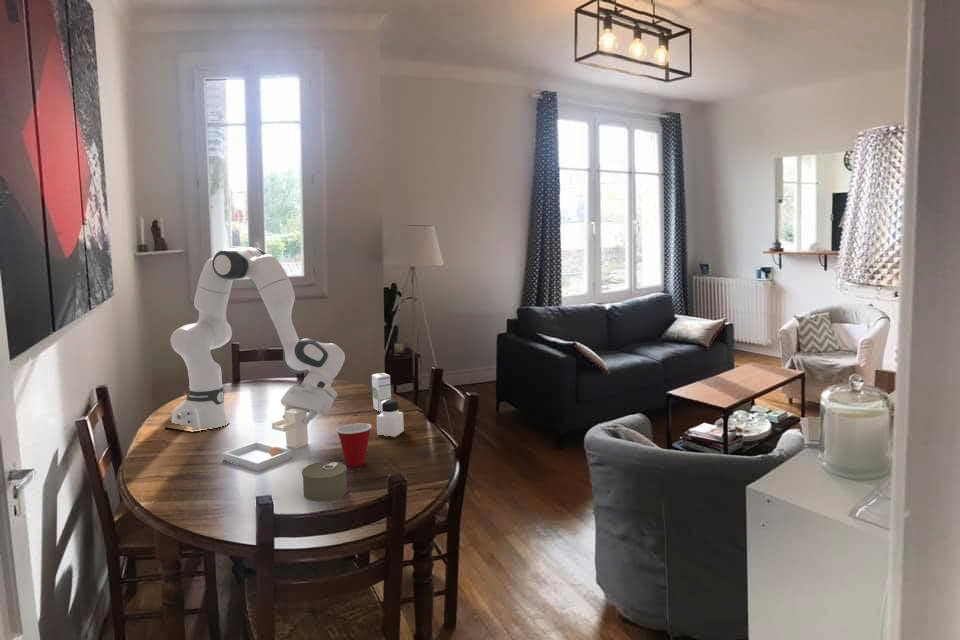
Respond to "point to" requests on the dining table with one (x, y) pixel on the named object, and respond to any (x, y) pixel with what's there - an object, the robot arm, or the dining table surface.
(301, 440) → the white block with shelf
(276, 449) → the ball
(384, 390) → the syrup box
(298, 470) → the dining table surface
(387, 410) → the medicine bottle
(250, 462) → the tray
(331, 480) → the can
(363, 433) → the plastic cup
